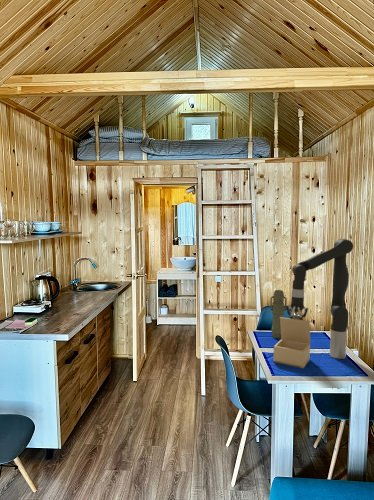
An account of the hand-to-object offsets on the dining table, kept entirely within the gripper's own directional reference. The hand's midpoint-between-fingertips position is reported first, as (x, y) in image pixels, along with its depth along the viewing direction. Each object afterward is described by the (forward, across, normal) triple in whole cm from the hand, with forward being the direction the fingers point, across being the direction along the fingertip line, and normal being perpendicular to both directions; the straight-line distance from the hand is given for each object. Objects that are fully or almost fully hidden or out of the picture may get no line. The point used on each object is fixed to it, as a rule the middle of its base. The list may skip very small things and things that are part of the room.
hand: (296, 322), depth 232 cm
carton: (+22, 0, +8) cm, 24 cm away
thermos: (+21, +22, -36) cm, 47 cm away
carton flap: (+4, 0, +3) cm, 6 cm away
